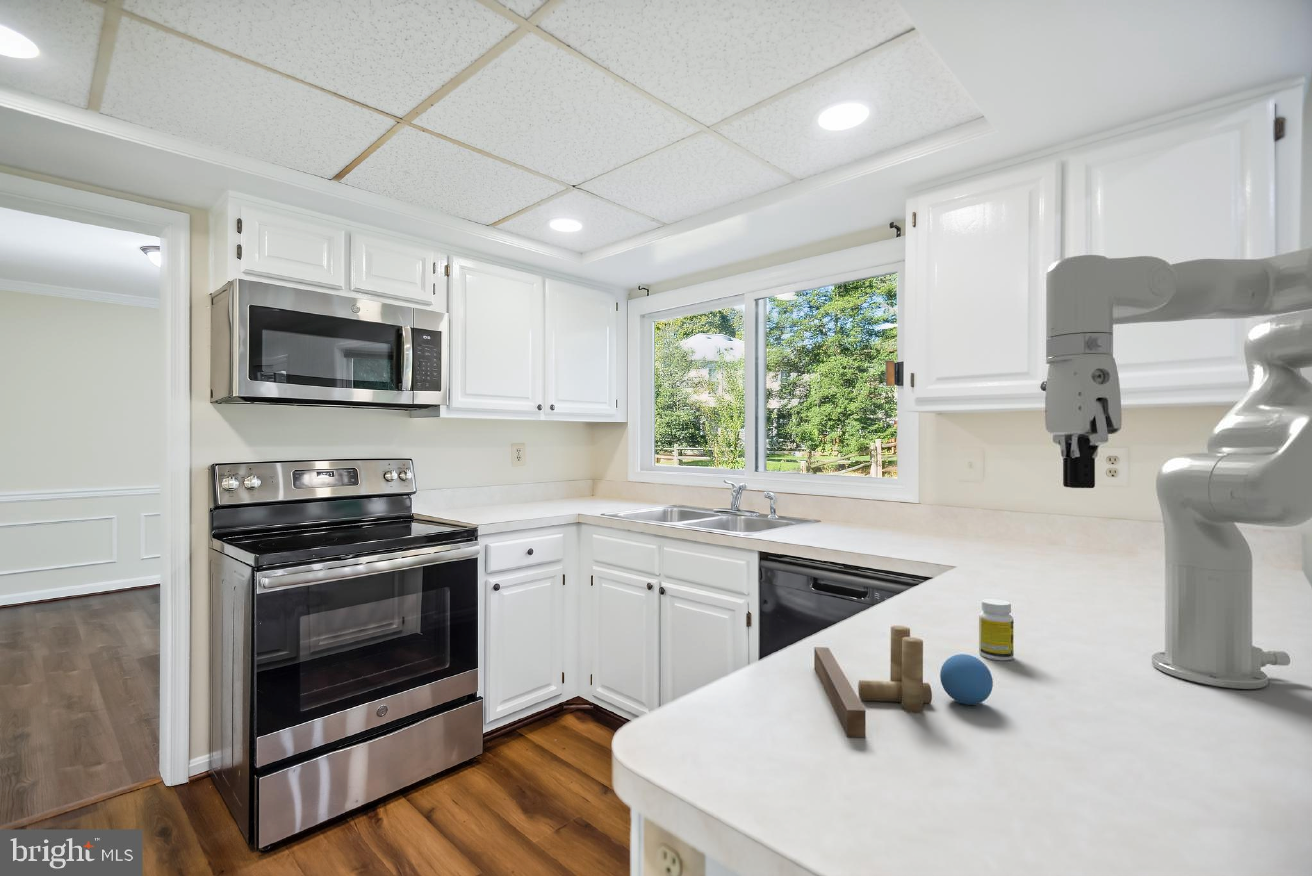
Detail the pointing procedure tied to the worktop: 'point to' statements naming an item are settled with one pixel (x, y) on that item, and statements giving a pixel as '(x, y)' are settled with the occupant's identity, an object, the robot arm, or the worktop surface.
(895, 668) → the pin
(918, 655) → the pin
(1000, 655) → the supplement bottle
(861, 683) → the pin front
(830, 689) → the back rail
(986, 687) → the ball
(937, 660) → the worktop surface
